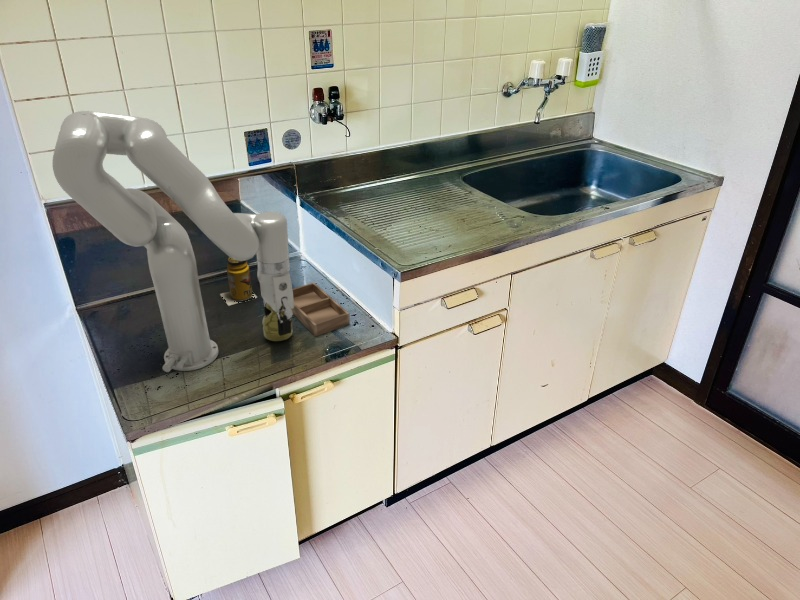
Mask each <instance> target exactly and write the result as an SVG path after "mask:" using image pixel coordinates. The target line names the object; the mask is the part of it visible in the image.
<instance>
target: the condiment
mask: <svg viewBox="0 0 800 600" xmlns="http://www.w3.org/2000/svg"><path fill="white" fill-rule="evenodd" d="M226 265H227V268H226V274H227V280H228V285H229V291H227V292H222V293H219V296H220V297H221V298H222V297H223V298H222V300H224V299H225V300H226V302H225V303H226V304H227V306H228V307H230V306H233V305H236V304H239V303H241V302H239V303H238V302H236V301H243V300H247V299H249V298H251V297H253V298H254V297H255V299H257V298H258V296H257V295H256V294H255V293H254V294H252V292H253V289H252V288H253V287H252V279H251V273H250V272H251V271H250V266H249V265H248V260H245V261H239V260H235V259H233V258H231V257H229V256H228V258H227V259H226ZM252 295H254V296H252ZM234 301H235V302H234Z"/></svg>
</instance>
